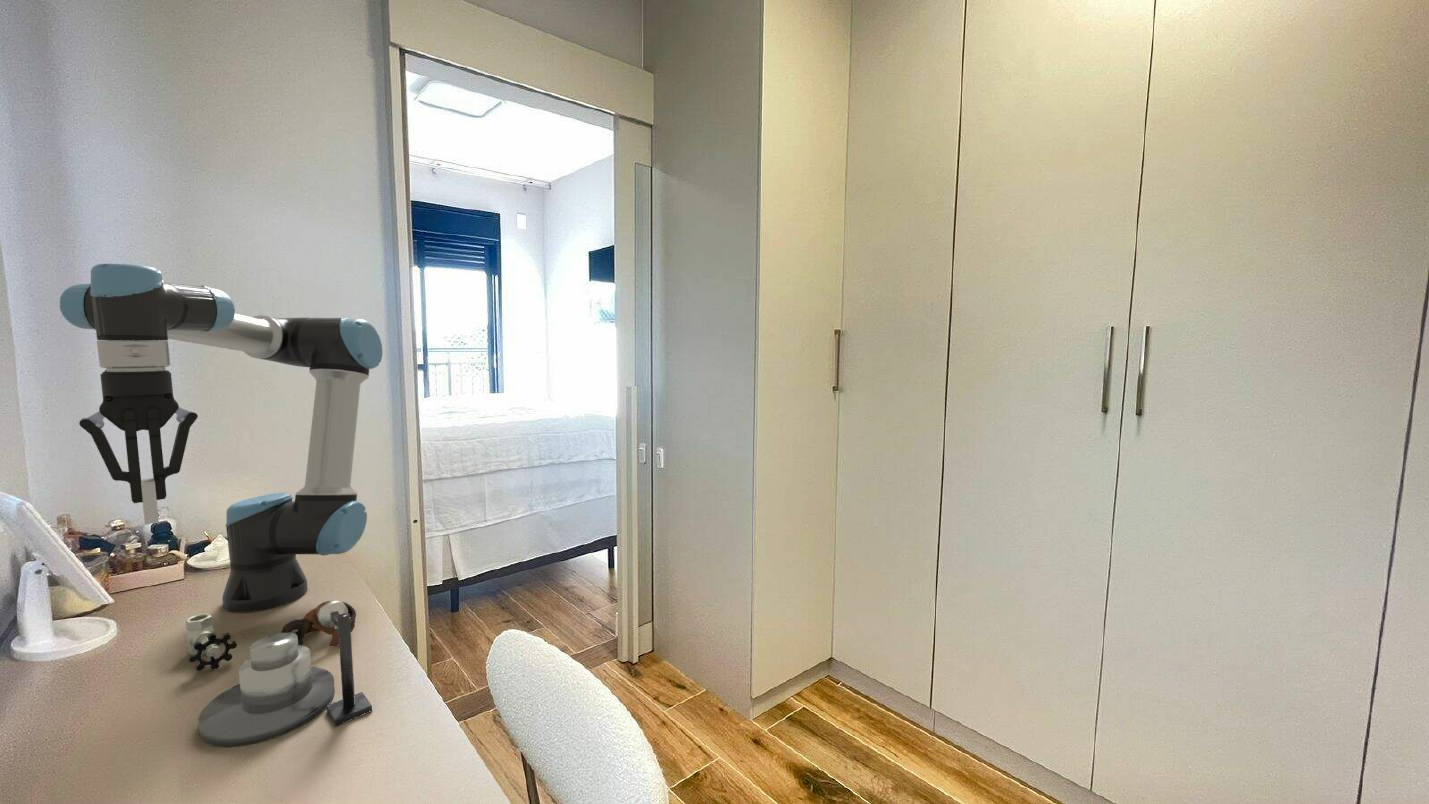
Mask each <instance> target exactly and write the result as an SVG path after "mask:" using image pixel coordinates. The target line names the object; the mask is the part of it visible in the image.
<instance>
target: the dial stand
mask: <svg viewBox="0 0 1429 804" xmlns="http://www.w3.org/2000/svg"><path fill="white" fill-rule="evenodd" d="M329 601H330V602H327V601H326V602H327V603H326V604H324V605H323V606H322V607H321V608H320V610H319V612H318V620H319V622H320V623H321V624H322V625H323V626H325V627H335V628H336V627H337V628H336V629H338V634H339V645H338V648H339V661H340V662H339V665H340V675H341V676H340V679H341V691H342V693H341V694H342V699H340V700H337V701H335V702H331V703H330V704H329V705H327V707H326V713H327V712H328V713H327V714H328V716H329V718H330V720H331V721H332V722H333V724H334V726H335V727H337V726H340V725H343V724H344V723H343V722H345V723H347V722H349V721H348V720H350V721H352V720H355V719H356V718H355V717H357V718H359V717H361V716H360V715H362V714H364V713H367V712H369V711H371V712H373V705H372V704H371V702H370V701H369V699H368V698H367V697H366V695H365V694H364V692H363V691H361V692H358V693H355V680H354V667H353V666H354V664H353V647H352V646H353V645H352V632H351V629H350V618H351V617H350V614H349V613H348V608H347V606H346V605H345V604H344V603H343V602H344V601H342V602H341V600H338V599H335V600H329ZM369 713H370V712H369ZM367 714H368V713H367ZM364 715H365V714H364ZM358 716H359V717H358ZM362 716H363V715H362ZM354 718H355V719H354ZM351 719H352V720H351ZM346 721H347V722H346Z"/></svg>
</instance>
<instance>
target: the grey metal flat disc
mask: <svg viewBox="0 0 1429 804" xmlns="http://www.w3.org/2000/svg"><path fill="white" fill-rule="evenodd" d="M311 671H312V685H313V686H312V690H311V691H310V693H309V694H308V695H307V696H306V697H304V698H303V699H302V700H300V701H298V702H297V703H295V704H293V705H291V706H288V707H286V708H283V709H281V710H277V711H274V712H269V713H263V714H251V713H247V712H245V711H243V709H242V703H241V692H240V683H238V684H236V685H234V686H232V687H230V688H229V689H226V690H224V691H223V692H221V693H220V694H219V695H217V696H215V697H214V698H213V699H212V700H211V701H210V702H208V703H207V704H206V705H205V706H204V708H203V709H202V710H201V711H200V714H199V716H198V719H197V720H198V732H199V736H200V739H201V740H202V741H203V742H204V743H206V744H207V745H210V746H214V747H219V748H220V747H222V748H233V747H242V746H248V745H253V744H257V743H261V742H265V741H269V740H272V739H275V738H277V737H280V736H283V735H285V734H287V733H290V732H292V731H294V730H296V729H298V728H300V727H302V726H303V725H306V724H307V723H309V722H310V721H312V720H313V719H315V718H316V717H317V716H319V715H320V714H321V713H323V711H324V710H326V709H327V705H329V703H330V702H331V703H332V702H333V699H334V697H335V693H336V689H335V688H336V687H335V677H334V675H333V674H332V673H331V672H330V671H329V670H327V669H324V668H321V667H316V666H311ZM331 703H330V704H331Z"/></svg>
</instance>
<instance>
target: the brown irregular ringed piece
mask: <svg viewBox="0 0 1429 804" xmlns="http://www.w3.org/2000/svg"><path fill="white" fill-rule="evenodd" d="M330 601H331V600H329V601H328V600H327V601H324V602H322V603H320V604H318V605H317V606H316V607H315V608H313V609H311V610H310V611H309V612H307V613H306V614H305V616H304V617H303V618H301V619H299V618H298V619H293V620H290V621H289V622H286V623H285V624H284V626H283V627H282V629H281V631H280V633H294V632H293V631H296V632H295V633H294V634H296V635H297V637H298V645H301V646H304V639H305V636H306V635H307V634H309V633H316V632H323V633H325V634H326V635H331V640H330V642H329V644H328V645H329V646H330V647H338V646H339V645H338V644H339V634H338V628H336V626H335V627H325V626H323V625H322V624H321V623H320V622H319V620H318V612H319V610H320V608H321V607H322V606H323V605H324V604H326V603H327V602H330ZM340 601H341V600H340ZM341 602H343V603H344V604H345V605H346V606H347V608H348V613H349V614H350V629H351V633H352V632H353V631H354V629H355V627H356V617H357V612H356V609H354V607H353V606H352V605H350V604H349V603H347V602H344V601H341ZM337 645H338V646H337Z"/></svg>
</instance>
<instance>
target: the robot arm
mask: <svg viewBox="0 0 1429 804" xmlns="http://www.w3.org/2000/svg"><path fill="white" fill-rule="evenodd" d="M59 310H60V312H61V314H62V316H63V317H64V319H65V320H66V321H67V322H68V323H70V324H71V325H73V326H75V327H77V328H80V329H84V330H85V329H86V330H94V331H95V332H96V346H97V354H98V355H97V356H98V362H99V367H100V368H103V369H105V370H104V371H103V372H102V373H100V375H99V376H100V382H101V383H100V384H101V393H102V402H101V404H100V405H99V409H98V411H97V412H95V413H93V414H92V415H89V416H88V417H83V418H81V419H80V420H79V426H80V427H81V428H82V429H83V430H85V432H87V433H88V434H89V435H90V436H91V438H92V439H93V442H94V444H95V446H96V448H97V450H98V452H99V454H100V456H101V458H102V461H103V463H104V465H105V466H106V469H107V471H108V472H109V476H110V477H111V478H112V480H113V481H115V482H118V481H121V482H125V483H126V482H127V483H128V484H129V487H130V497H131V501H132V503H133V504H138V503H142V509H143V519H144V525H150V524H156V523H160V522H159V513H158V512H159V511H158V510H159V509H158V501H159V500H165V499H166V498H167V487H166V479H167V478H168V477H170V476H172V475H177V474H178V473H180V471H181V467H182V464H183V461H184V460H183V459H184V455H185V450H186V446H187V443H188V442H187V441H188V438H189V433H190V429H191V428H192V426H193V424H194V423H195V422H196V420H197V419H198V417H199V416H198V413H196V412H195V411H192V410H188V409H185V408H182V407H180V406H179V403H178V401H176V399H175V397H174V389H173V381H172V380H173V379H172V372H170V370H166V367H169V366H171V360H170V359H171V358H170V349H169V340H174V341H180V342H186V343H190V344H191V343H192V344H199V345H204V346H208V347H215V348H221V349H226V350H227V349H228V350H234V351H240V352H243V353H244V354H246V355H247V356H248V357H251V358H254V359H259V360H265V361H269V362H274V363H279V364H284V365H289V366H293V367H300V368H301V367H302V368H309V370H308V371H309V374H310V375H311V376H312V377H313V378H314V379H315V380H316V382H315V389H314V400H313V409H312V418H311V426H310V427H311V428H310V437H309V444H308V445H309V446H308V455H307V464H306V474H305V479H304V480H305V482H304V486H303V487H302V488H300V489H299V490H298V491H297V492H295V493H294V494H295V496H294V497H293V496H292V494H291V493H290V492H275V493H269V494H264V495H259V496H254V497H251V498H247V499H244V500H241V501H237V502H235V503H233V504H231V505H229V507H228V508H227V509H226V512H225V513H226V516H225V517H226V521H225V522H226V523H225V528H226V536H227V545H228V546H227V547H228V548H227V549H228V554H229V555H228V556H229V558H228V559H229V566H230V573H229V576H228V577H227V578H228V579H227V581H226V585H225V587H224V591H223V594H222V607H223V609H224V610H225V611H228V612H230V613H231V612H232V613H252V612H258V611H264V610H269V609H272V608H273V609H274V608H276V607H280V606H282V605H285V604H289V603H291V602H294V601H295V600H297V599H299V598H301V597H302V596H304V595H305V594H306V593H307V591H308V589H309V588H308V587H309V586H308V578H307V577H306V575H305V573H304V571H303V569H302V567H301V565H300V563H299V561H298V559H297V555H320V556H324V557H325V556H328V555H341V554H345V553H347V552H349V551H350V550H352V549H353V548H354V547H355V546H356V545H357V543H359V541H360V540H361V538H362V536H363V534H364V532H365V529H366V525H367V522H368V521H367V520H368V514H367V513H368V511H367V510H366V506H365V505H364V504H363V503H362V502H360V501H358V500H357V498H358V493H357V492H356V491H355V489H353V487H351V483H352V481H351V480H352V473H353V462H354V452H355V444H356V443H355V442H356V441H355V440H356V433H357V423H358V422H357V421H358V420H357V419H358V411H359V410H358V409H359V401H360V391H361V384H362V383H363V382H364V381H367V379H369V375H370V370H373V369H374V368H378V366H379V365H380V363H381V362H382V359H383V343H382V340H381V337H380V335H379V332H378V331H377V330H376V328H375V327H374V326H373V324H372V323H370V322H369V321H368V320H365V319H362V318H351V317H350V318H349V317H345V316H344V317H271V316H268V315H263V314H262V315H261V314H260V315H255V316H254V315H253V316H248V315H244V314H239V313H236V311H235V310H236V309H235V303H234V302H233V300H232V298H231V297H230V296H229V295H228V294H227V293H226V292H224V291H223V290H221V289H218V288H216V287H215V288H214V287H208V286H207V285H192V284H191V285H190V284H180V283H179V284H178V283H170V282H169V283H168V282H165V280H164V279H163V276H162V272H161V270H160V269H158V268H156V267H152V266H148V265H140V264H139V265H138V264H126V263H98V264H95V265H94V266H93V267H91V270H90V283H80V284H79V283H78V284H73V285H72V286H69V287H67V288H66V289H65V290H64V291H63V292H62V294H61V295H60V297H59ZM174 414H176V418H175V419H176V421H177V422H178V425H177V428H176V433H175V438H174V442H173V445H172V450H171V455H170V459H169V462H168V463H169V464H168V465H167V466H164V465H165V464H164V457H163V456H164V453H163V445H162V435H161V428H163V427H164V426H166V424H167V423H168V422H169V420H170V419H171V418H172V417H173V416H174ZM104 418H106V420H108V421H109V422H110V423H111V424H112V425H114V426H115V427H116V428H118V429H119V430H121V431H123V432H124V437H125V438H124V439H125V447H126V448H125V449H126V458H127V466H128V467H127V468H128V471H124V470H122V468H121V465H120V463H119V462H118V459H117V457H116V455H115V453H114V451H113V449H112V447H111V444H110V442H109V440H108V438H107V436H106V434H105V432H104V430H103V429H102V428H104V427H105V421H104ZM143 430H144V431H148V438H149V449H150V458H151V467H152V469H151V470H152V477H153V478H144V479H143V478H142V477H141V465H140V457H139V456H140V455H139V454H140V453H139V444H138V435H137V434H138V433H137V432H139V431H143ZM293 499H294V500H293Z"/></svg>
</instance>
